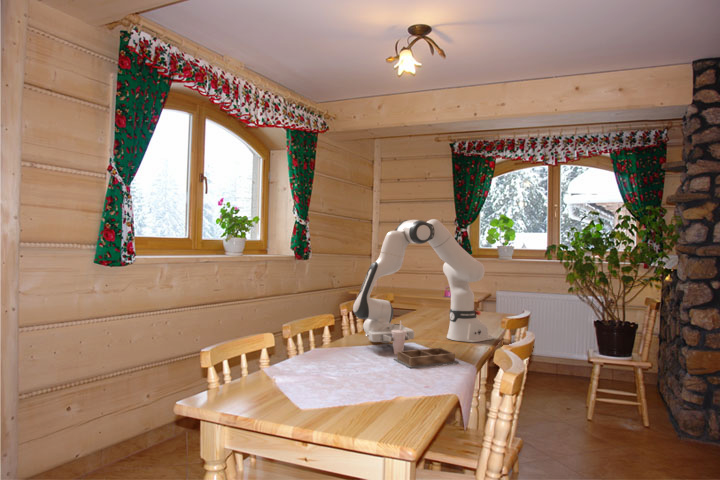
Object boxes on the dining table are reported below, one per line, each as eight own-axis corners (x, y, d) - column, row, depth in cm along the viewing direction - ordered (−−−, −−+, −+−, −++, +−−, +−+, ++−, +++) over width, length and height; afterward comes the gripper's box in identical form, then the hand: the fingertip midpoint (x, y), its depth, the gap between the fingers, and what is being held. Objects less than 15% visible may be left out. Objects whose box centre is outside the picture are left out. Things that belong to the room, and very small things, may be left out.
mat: (440, 355, 199) (440, 354, 199) (458, 363, 187) (458, 361, 187) (393, 359, 190) (393, 358, 190) (409, 368, 178) (409, 367, 178)
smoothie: (406, 356, 196) (407, 322, 196) (391, 355, 196) (391, 321, 196) (405, 352, 202) (406, 319, 202) (390, 352, 203) (391, 319, 202)
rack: (440, 355, 197) (440, 347, 197) (454, 361, 188) (455, 353, 188) (397, 359, 189) (397, 351, 189) (410, 366, 180) (410, 358, 180)
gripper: (363, 326, 207) (377, 332, 194) (404, 324, 215) (420, 329, 202) (363, 341, 207) (377, 348, 194) (404, 338, 215) (420, 344, 203)
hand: (399, 338), depth 198 cm, fingers open, 6 cm apart
